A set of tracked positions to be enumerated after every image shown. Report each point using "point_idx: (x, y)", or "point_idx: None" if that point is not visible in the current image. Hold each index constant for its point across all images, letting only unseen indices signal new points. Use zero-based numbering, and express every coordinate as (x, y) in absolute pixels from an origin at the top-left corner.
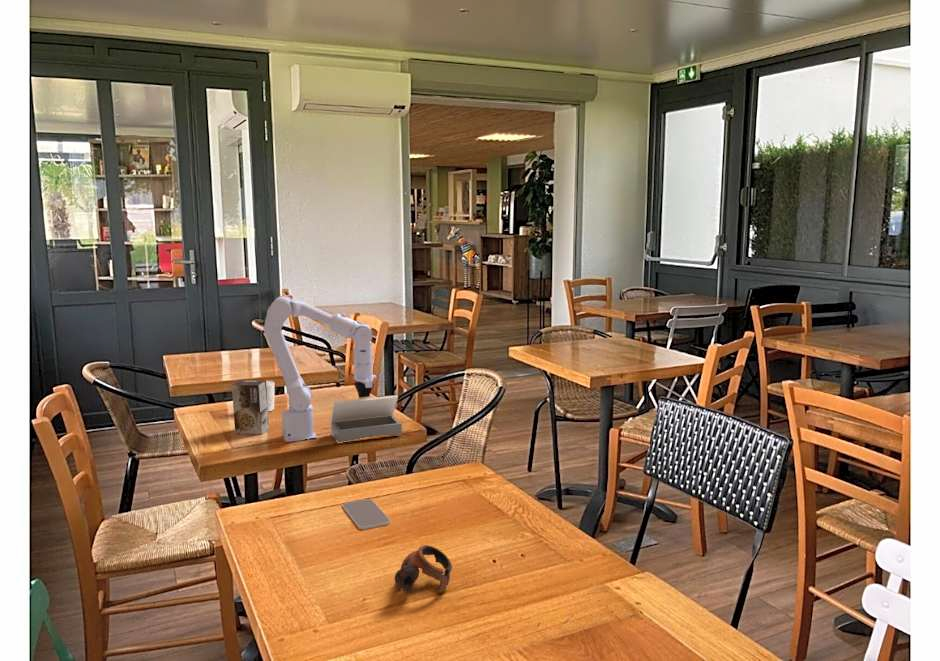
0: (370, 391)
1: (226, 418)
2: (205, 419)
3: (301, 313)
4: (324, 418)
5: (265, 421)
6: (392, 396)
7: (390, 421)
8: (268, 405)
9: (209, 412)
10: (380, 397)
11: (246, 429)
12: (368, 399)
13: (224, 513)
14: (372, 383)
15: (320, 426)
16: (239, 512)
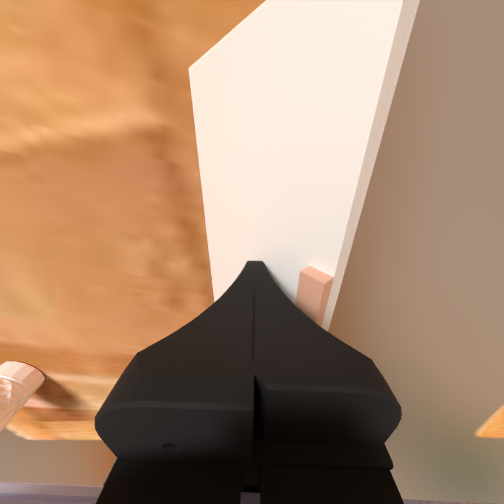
0: (309, 320)
1: (82, 411)
2: (88, 426)
3: None
4: (80, 290)
5: None
6: (404, 15)
7: None
8: (20, 386)
9: (47, 421)
10: (356, 205)
11: None
12: (334, 301)
13: (484, 437)
14: (288, 393)
15: (155, 309)
16: (498, 430)
